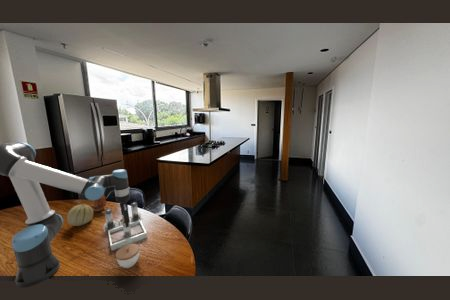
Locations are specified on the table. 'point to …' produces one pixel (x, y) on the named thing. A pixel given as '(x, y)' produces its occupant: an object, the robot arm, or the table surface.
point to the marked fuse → (124, 229)
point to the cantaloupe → (80, 215)
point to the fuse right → (134, 210)
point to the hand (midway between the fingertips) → (126, 227)
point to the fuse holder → (119, 223)
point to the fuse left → (109, 217)
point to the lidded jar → (128, 255)
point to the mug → (99, 203)
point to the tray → (129, 239)
